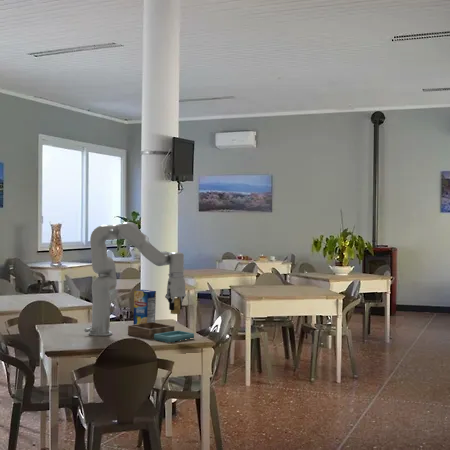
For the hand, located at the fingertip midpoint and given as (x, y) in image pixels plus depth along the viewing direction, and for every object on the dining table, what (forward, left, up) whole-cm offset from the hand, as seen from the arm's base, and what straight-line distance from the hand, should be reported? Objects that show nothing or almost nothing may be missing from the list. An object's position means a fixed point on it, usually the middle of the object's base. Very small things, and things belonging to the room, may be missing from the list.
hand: (175, 309), depth 340 cm
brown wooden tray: (0, +18, -16) cm, 24 cm away
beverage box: (+12, +37, -16) cm, 42 cm away
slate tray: (0, 0, -16) cm, 16 cm away
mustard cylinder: (0, 0, -2) cm, 2 cm away
